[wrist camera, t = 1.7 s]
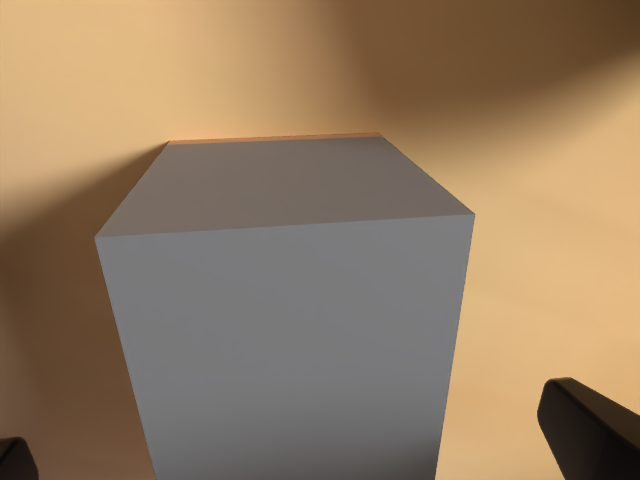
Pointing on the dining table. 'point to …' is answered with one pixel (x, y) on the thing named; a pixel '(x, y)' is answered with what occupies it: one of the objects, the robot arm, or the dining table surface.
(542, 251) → the dining table surface
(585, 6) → the dining table surface
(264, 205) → the block
